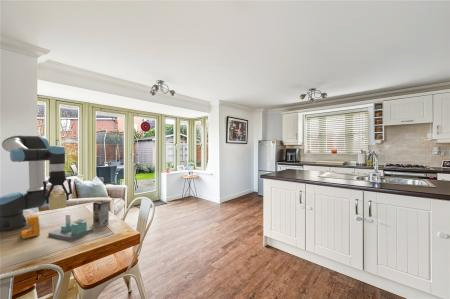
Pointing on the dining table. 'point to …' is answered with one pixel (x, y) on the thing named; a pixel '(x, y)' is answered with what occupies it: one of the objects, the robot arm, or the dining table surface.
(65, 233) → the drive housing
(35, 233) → the bracket
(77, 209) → the dining table surface
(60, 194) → the sleeve
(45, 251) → the dining table surface
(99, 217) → the coffee box
